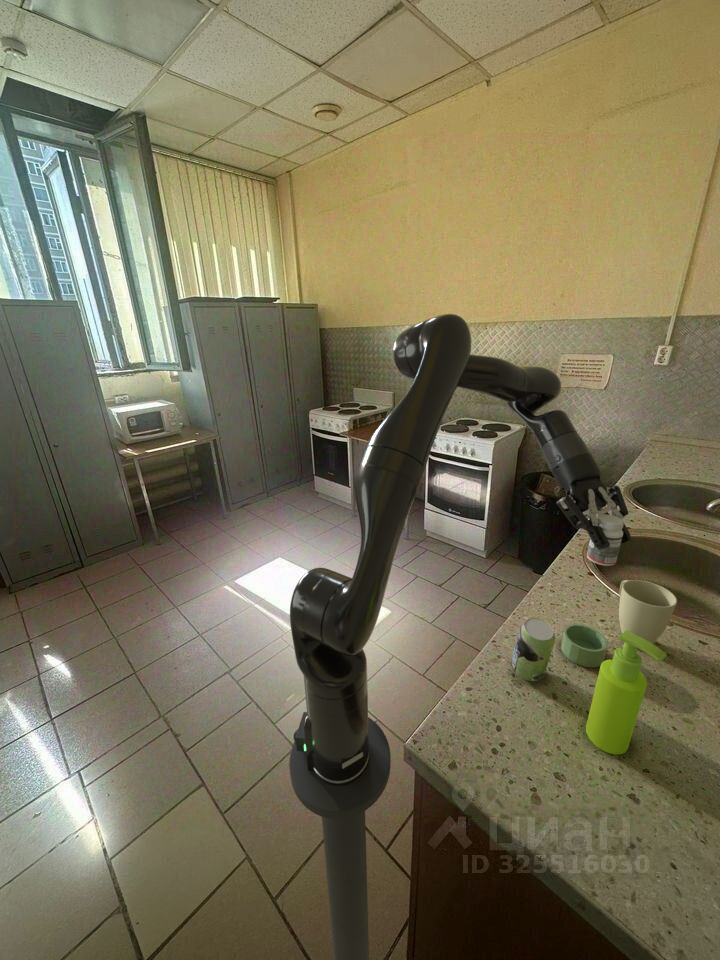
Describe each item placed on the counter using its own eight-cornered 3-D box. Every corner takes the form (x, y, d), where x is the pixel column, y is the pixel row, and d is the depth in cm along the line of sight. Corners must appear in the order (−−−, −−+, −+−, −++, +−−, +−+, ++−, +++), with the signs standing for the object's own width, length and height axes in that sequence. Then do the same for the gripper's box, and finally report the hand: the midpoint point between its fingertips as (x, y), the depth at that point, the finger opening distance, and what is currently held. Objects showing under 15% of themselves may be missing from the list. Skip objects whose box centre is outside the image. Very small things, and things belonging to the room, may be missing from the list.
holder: (568, 665, 77) (571, 649, 76) (556, 637, 84) (559, 622, 83) (610, 669, 76) (614, 653, 74) (594, 641, 83) (598, 625, 81)
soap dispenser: (623, 768, 59) (654, 664, 52) (578, 731, 64) (601, 633, 57) (642, 747, 62) (675, 646, 55) (598, 713, 67) (622, 618, 60)
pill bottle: (587, 550, 76) (596, 510, 73) (616, 557, 73) (626, 516, 70) (585, 561, 72) (593, 520, 69) (615, 569, 70) (625, 527, 67)
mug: (671, 642, 82) (686, 594, 78) (651, 664, 77) (666, 613, 73) (615, 614, 91) (626, 569, 86) (593, 632, 85) (603, 585, 81)
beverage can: (532, 657, 79) (540, 608, 75) (555, 687, 72) (565, 635, 68) (503, 661, 78) (509, 612, 74) (523, 692, 71) (532, 640, 67)
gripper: (583, 465, 82) (626, 543, 75) (528, 475, 77) (569, 559, 70) (612, 447, 75) (661, 530, 69) (554, 456, 70) (602, 547, 64)
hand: (615, 544), depth 70 cm, fingers closed on pill bottle, 4 cm apart
